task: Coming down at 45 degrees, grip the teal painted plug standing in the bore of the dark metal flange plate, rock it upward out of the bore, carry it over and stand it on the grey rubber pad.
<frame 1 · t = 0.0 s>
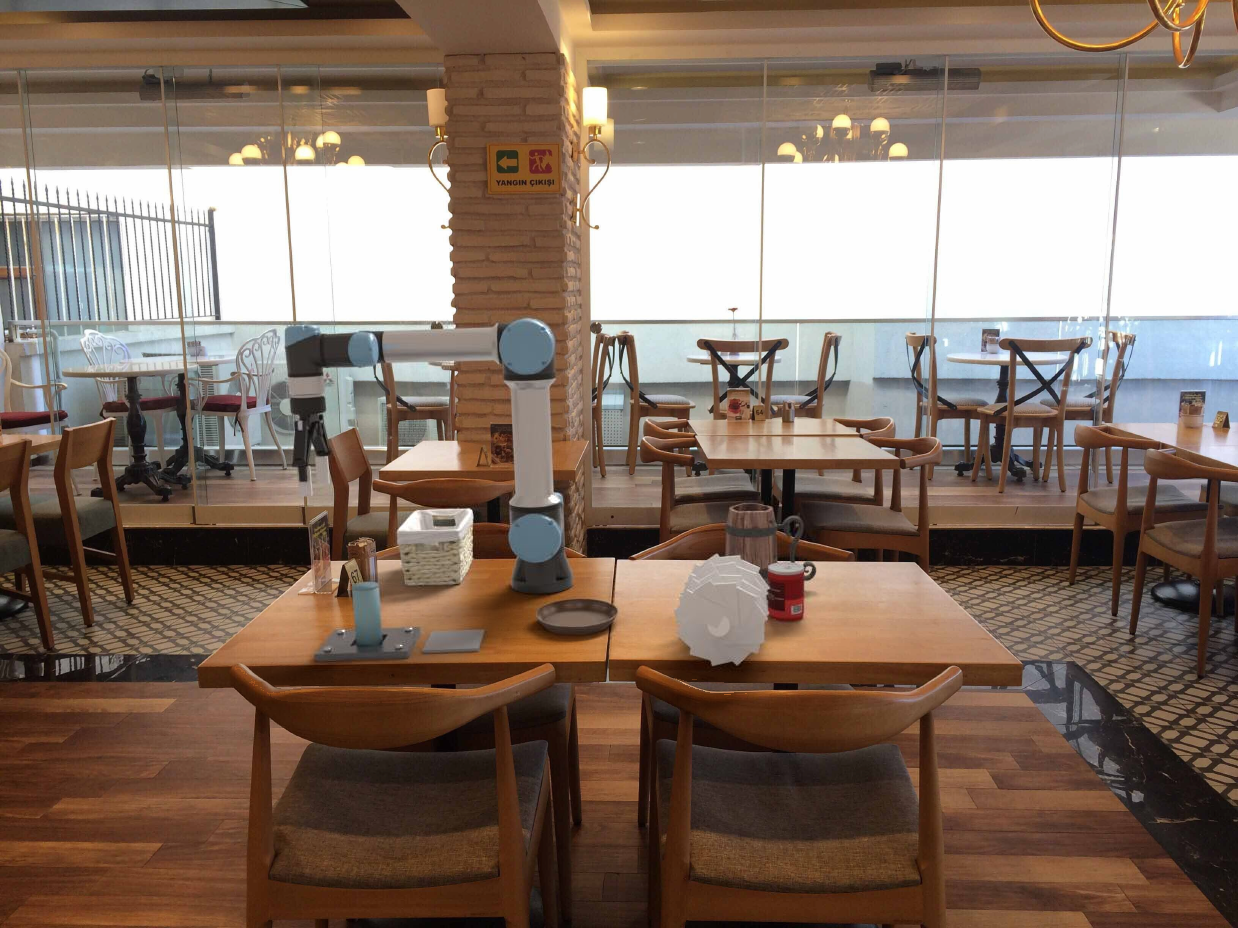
hand: (315, 490, 211), 28 cm above the table, tool pointing down, fingers open, 13 cm apart
pad: (454, 642, 192), on the table
spiral staircase: (723, 649, 185), on the table
storage basket: (439, 574, 243), on the table
canned food: (785, 616, 203), on the table
tankard: (765, 590, 222), on the table
plant saucer: (577, 625, 202), on the table
plug: (367, 616, 190), in the flange plate
flange plate: (369, 647, 191), on the table
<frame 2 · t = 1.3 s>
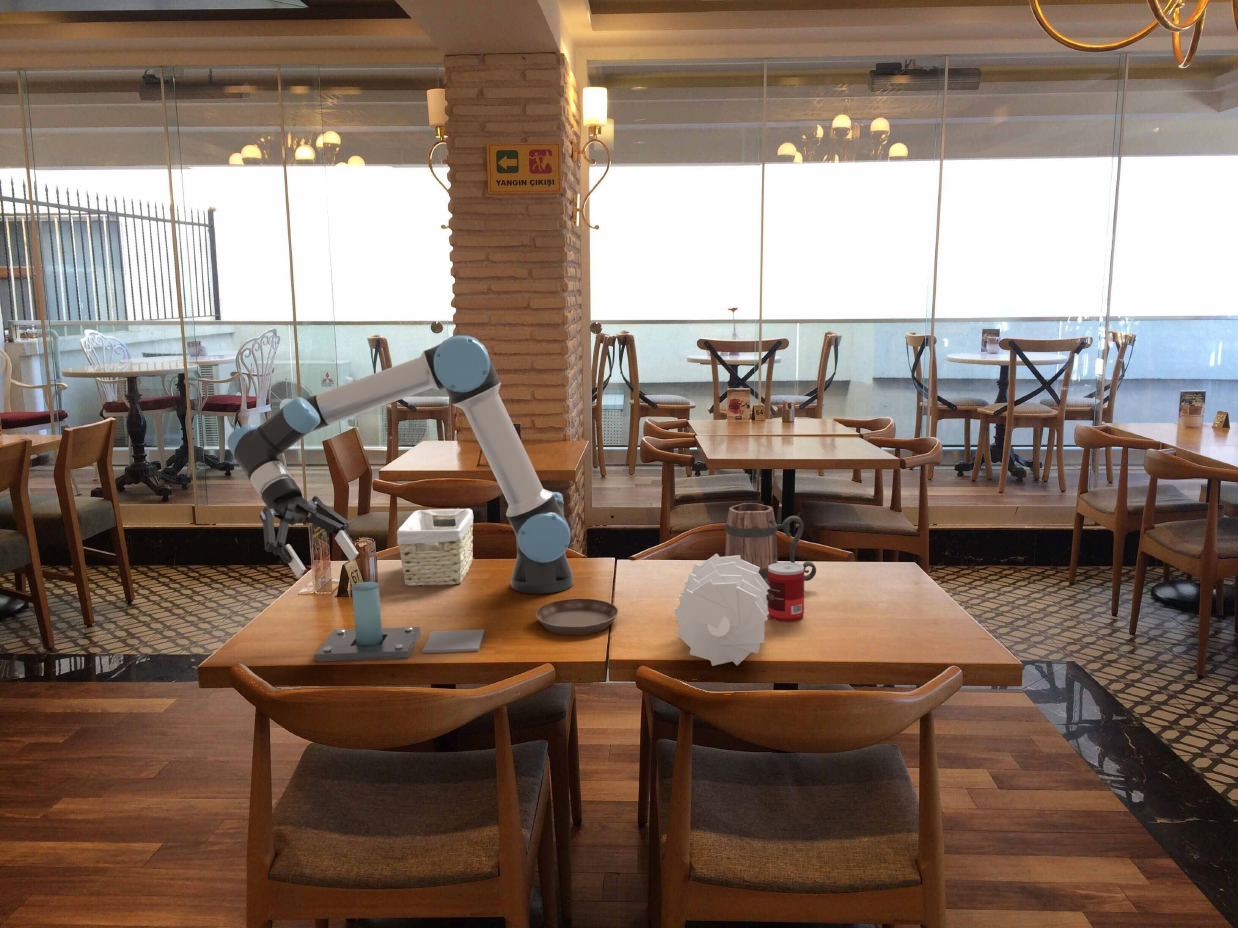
hand: (329, 565, 194), 16 cm above the table, tool tilted 45°, fingers open, 13 cm apart
nothing on the table moved.
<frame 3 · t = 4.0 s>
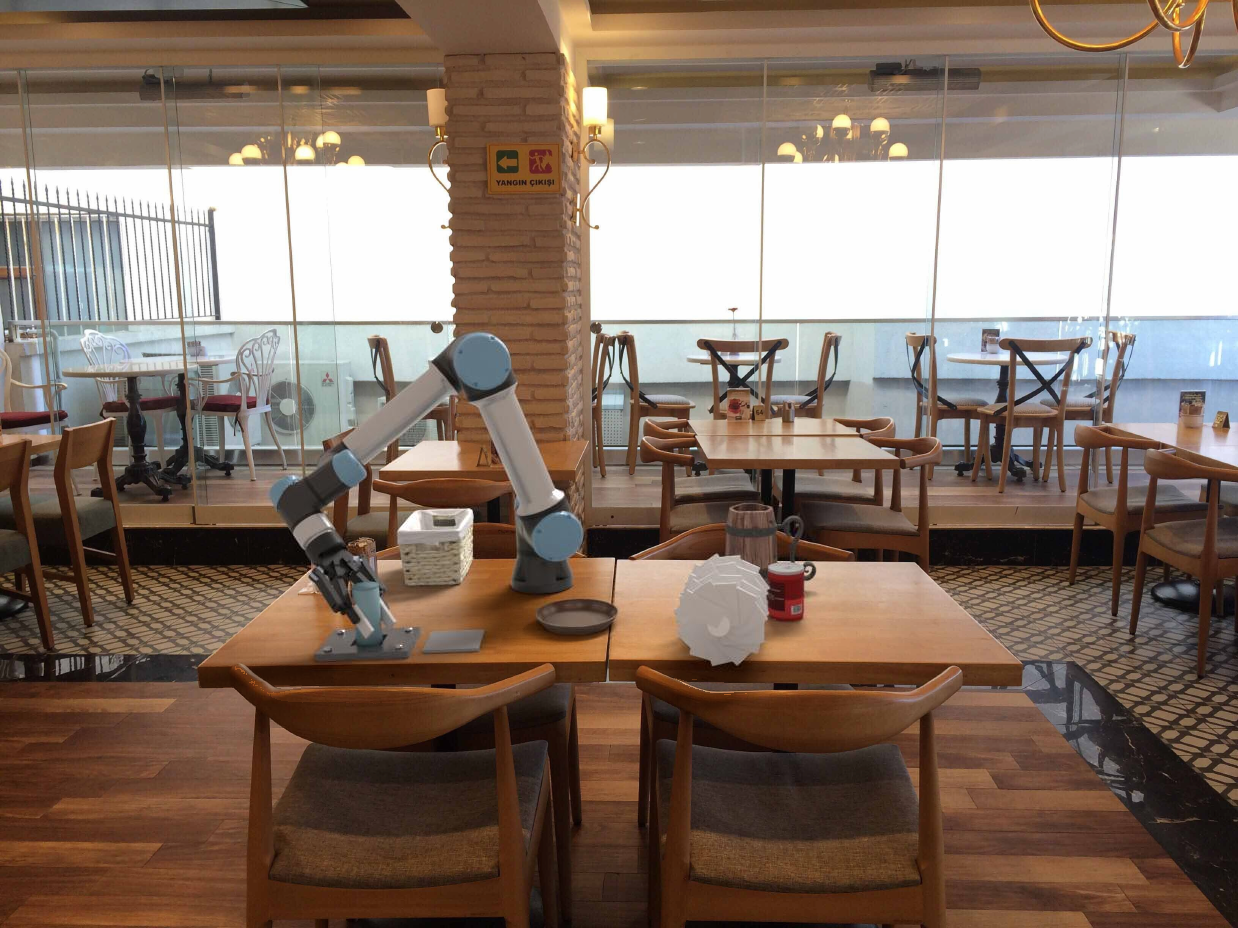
hand: (381, 629, 188), 4 cm above the table, tool tilted 45°, fingers closed on plug, 5 cm apart
plug: (367, 616, 190), in the flange plate, touching gripper
everything else where it was.
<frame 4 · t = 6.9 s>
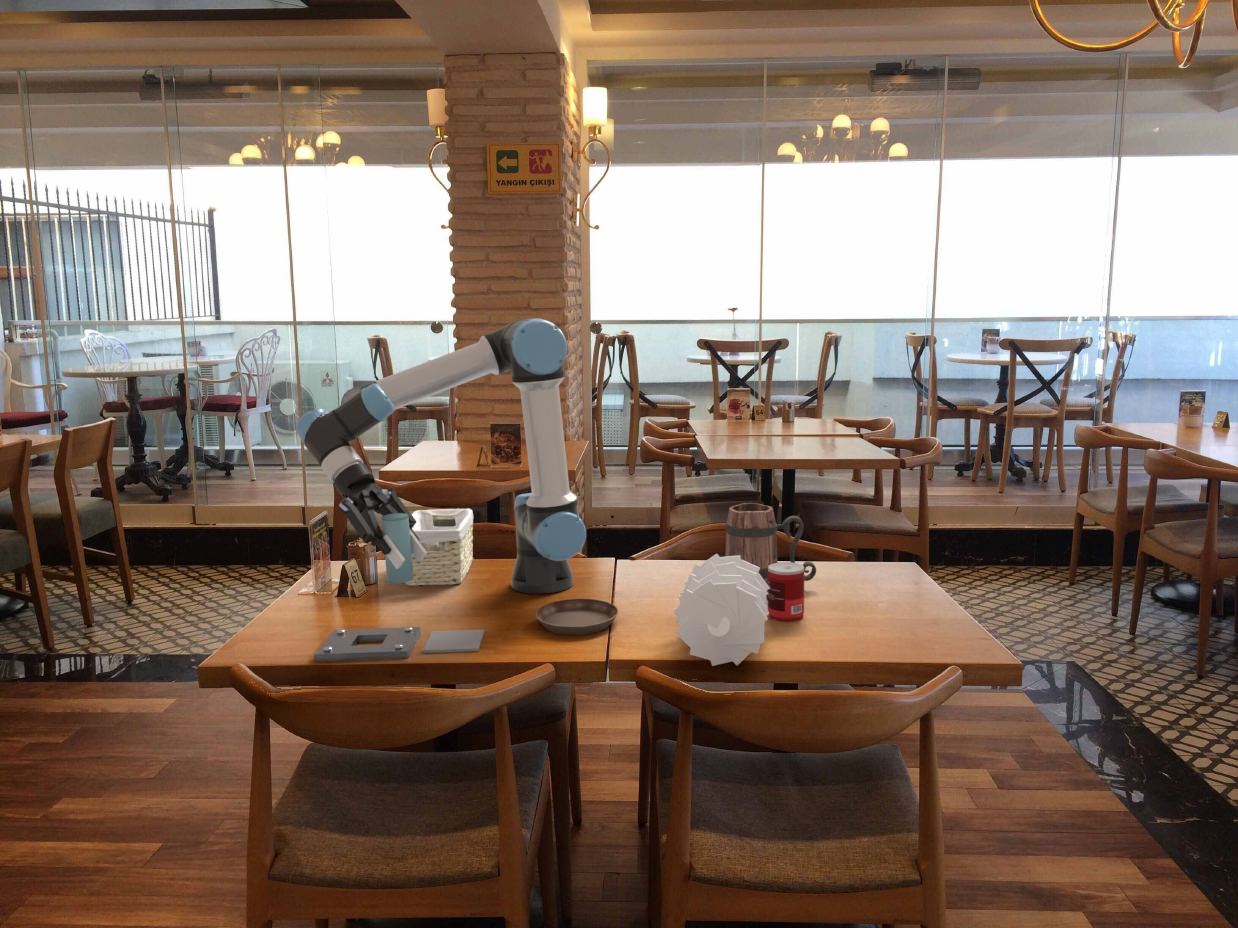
hand: (412, 560, 186), 18 cm above the table, tool tilted 45°, fingers closed on plug, 5 cm apart
plug: (397, 547, 188), point 20 cm above the table, touching gripper
everything else where it was.
when the fingers open (6 cm above the table, at t = 10.1 s): plug drops 1 cm, resting on pad.
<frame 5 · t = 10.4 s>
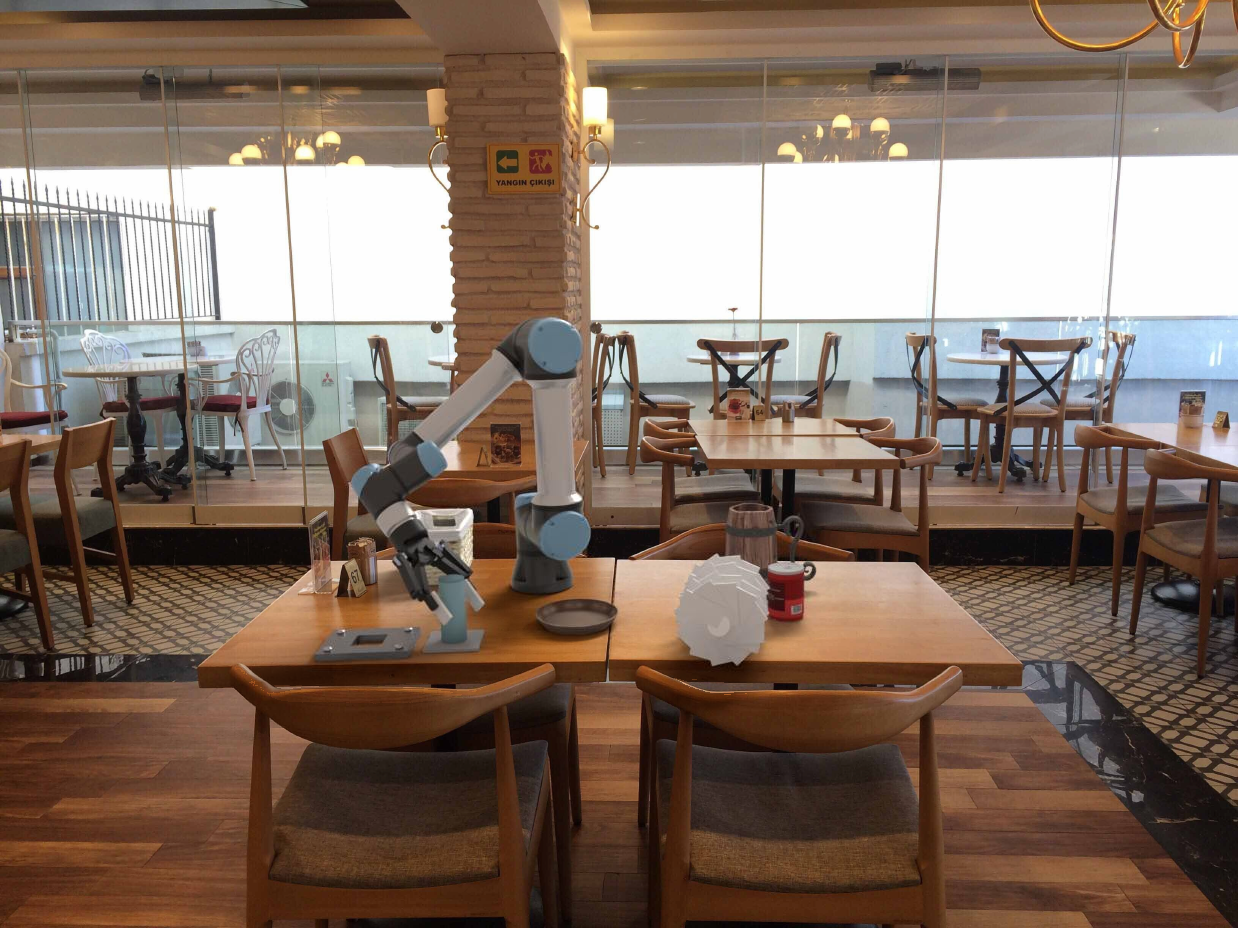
hand: (464, 614, 190), 7 cm above the table, tool tilted 45°, fingers open, 9 cm apart
plug: (452, 608, 191), on the pad, point 7 cm above the table
everything else where it was.
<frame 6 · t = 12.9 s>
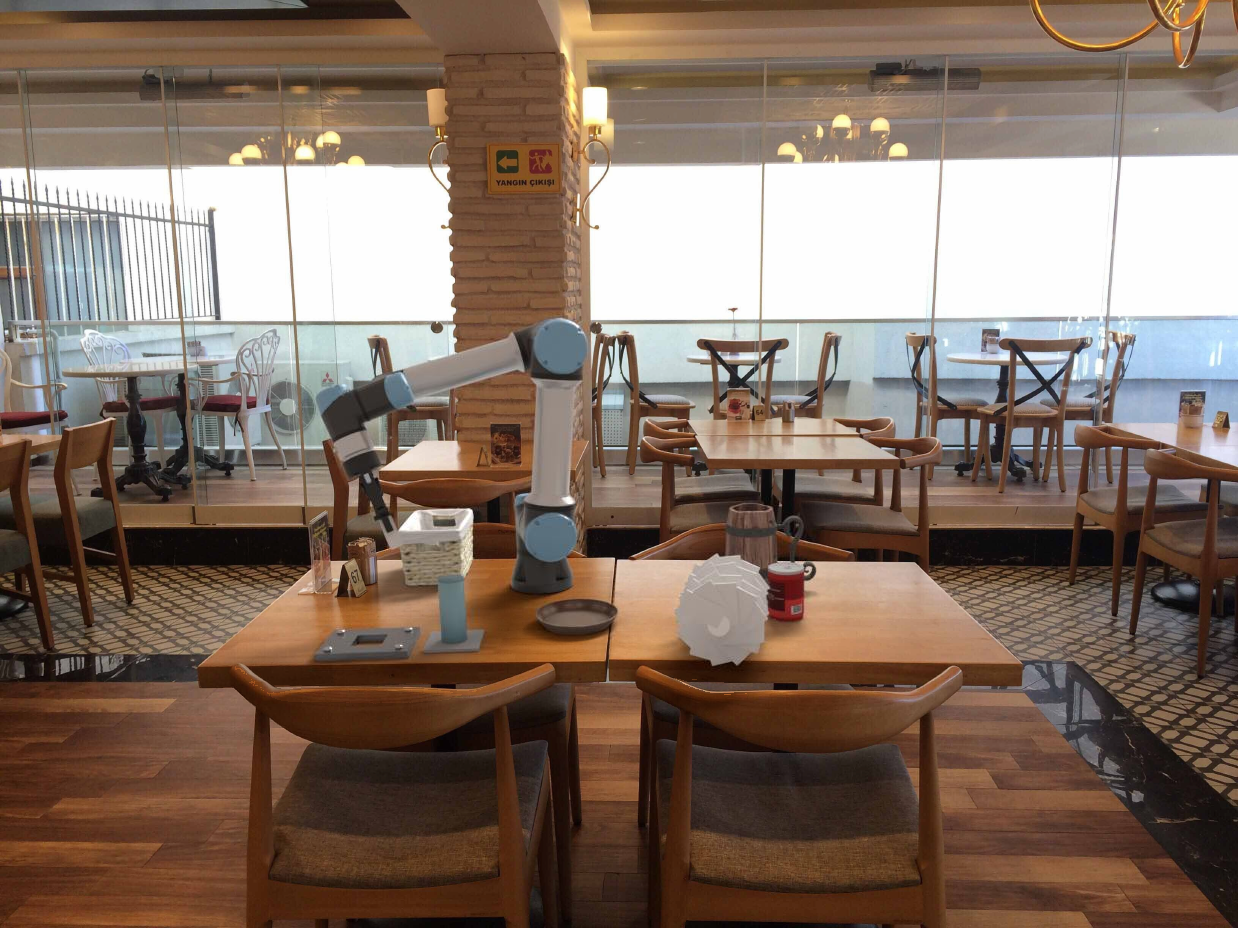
hand: (397, 547, 200), 17 cm above the table, tool tilted 25°, fingers open, 13 cm apart
nothing on the table moved.
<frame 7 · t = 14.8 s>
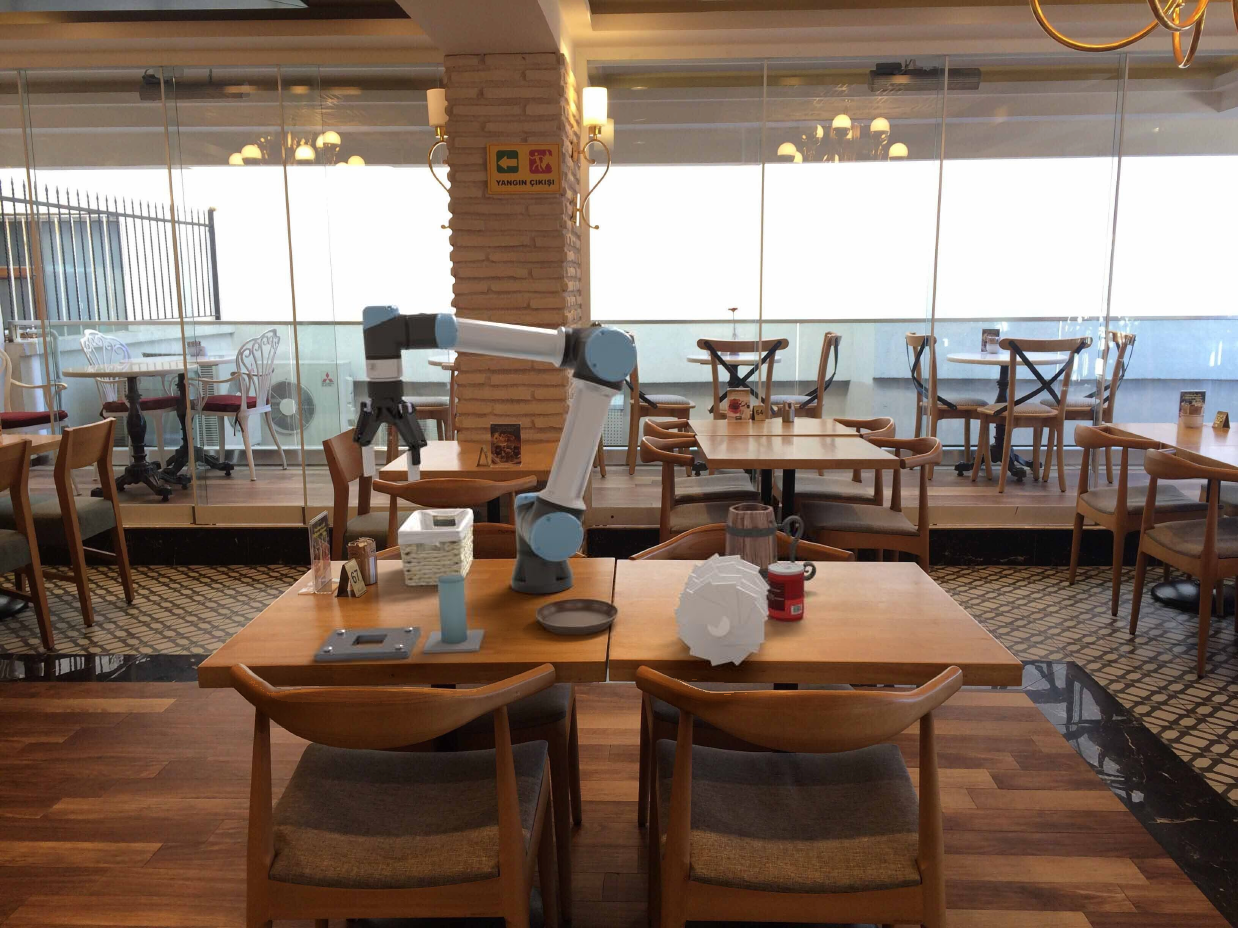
hand: (391, 478, 203), 32 cm above the table, tool pointing down, fingers open, 13 cm apart
nothing on the table moved.
at the end: plug inside the target area on the pad (0.1 cm from its centre), point 7.1 cm above the pad's base; plug tilted 0°; the gripper is holding nothing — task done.
